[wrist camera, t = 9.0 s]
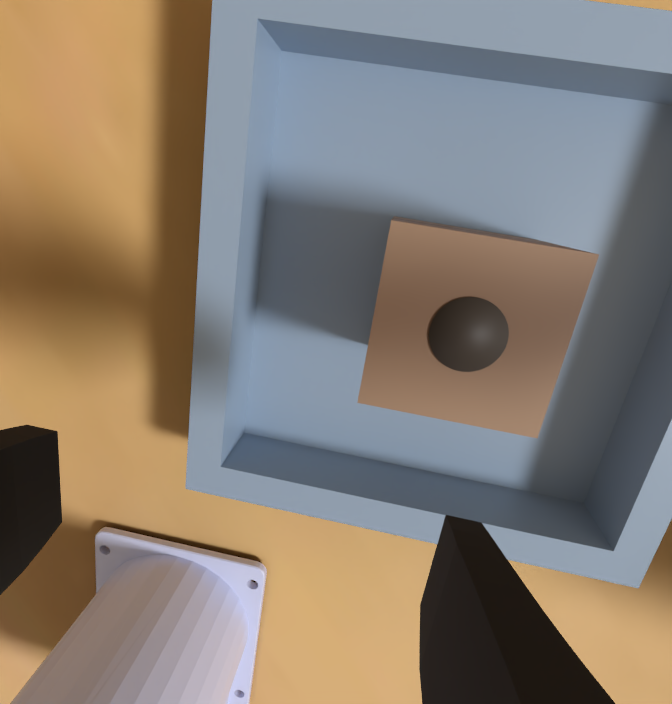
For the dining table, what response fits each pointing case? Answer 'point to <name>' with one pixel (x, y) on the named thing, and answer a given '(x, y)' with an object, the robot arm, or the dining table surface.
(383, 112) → the tray
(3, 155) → the dining table surface
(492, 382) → the walnut block
